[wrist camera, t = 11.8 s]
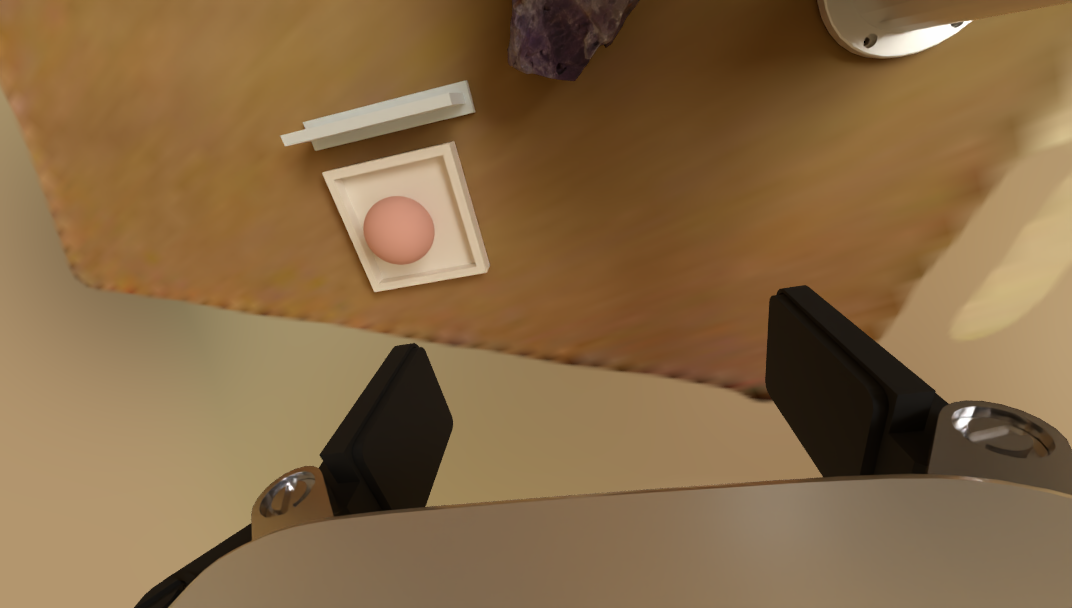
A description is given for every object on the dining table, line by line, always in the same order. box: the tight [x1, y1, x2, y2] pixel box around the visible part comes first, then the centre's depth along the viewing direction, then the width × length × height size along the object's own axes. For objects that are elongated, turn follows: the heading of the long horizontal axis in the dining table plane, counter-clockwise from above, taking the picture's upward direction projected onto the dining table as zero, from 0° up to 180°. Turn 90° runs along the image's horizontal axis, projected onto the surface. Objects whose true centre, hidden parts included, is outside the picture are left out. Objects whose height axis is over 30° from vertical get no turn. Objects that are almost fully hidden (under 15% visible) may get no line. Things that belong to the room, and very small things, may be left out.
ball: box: [363, 196, 435, 265], centre depth 36 cm, size 6×6×6 cm
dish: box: [322, 141, 490, 292], centre depth 38 cm, size 12×12×2 cm
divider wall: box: [281, 80, 475, 151], centre depth 33 cm, size 15×2×5 cm, turn 102°
